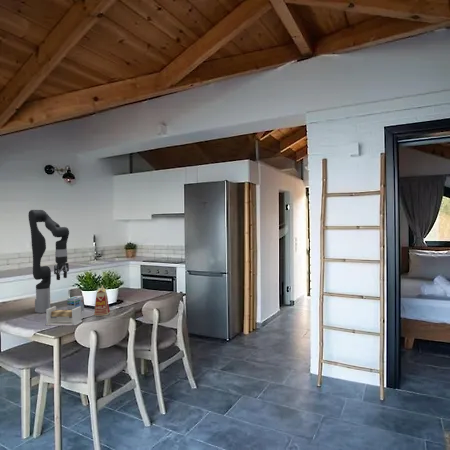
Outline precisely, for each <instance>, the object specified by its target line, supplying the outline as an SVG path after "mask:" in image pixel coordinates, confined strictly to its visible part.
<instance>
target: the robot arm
mask: <svg viewBox="0 0 450 450" xmlns="http://www.w3.org/2000/svg"><path fill="white" fill-rule="evenodd" d="M38 223H44V226H45V228H46V229H47V230H48V231H50V233H51V234H52V237H54V238H60V239H59V240H57V241H55V252H54V254H55V255H54V256H55V264H56V265H53V266H54V267H53V274H54V275H56V281H60V280H61V273H62V272H63V273H62V274H63V277H62V278H63V279H67V278H68V272H69V270H70V268H69V266H70V265H69V262H68V248H67V246H68V245H67V244H68V239H69V235H70V230H69V228H68V227H67V226H60V224H59V223H58V222H56V221H55V220H54V219H52V217H50V215H49V214H48V213H47V212H46V211H45V210H43V209H30V210H29V211H28V224H29V229H30V237H31V253H32V276H33V279H34V280H36V281H39V280H41V281H40V282H38V283H37V284H35V298H34V313H38V314H40V313H41V314H43V313H46V309H49V308H51V282H52V279H51V278H52V271H51V268H50V266H48V265H44V266H41V261H42V259H43V255H44V254H45V252H46V249H47V242H46V238H45V236H44V235H43V233H42V232H41V231H40V230H39V227H38Z"/></svg>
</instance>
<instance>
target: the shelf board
mask: <svg viewBox="0 0 450 450" xmlns="http://www.w3.org/2000/svg"><path fill="white" fill-rule="evenodd" d="M52 317H72V310H67V309H56V310H55V311H52Z"/></svg>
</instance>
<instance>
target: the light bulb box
mask: <svg viewBox="0 0 450 450" xmlns="http://www.w3.org/2000/svg"><path fill="white" fill-rule="evenodd" d="M66 301H67V302H66V305H67V306H66V307H67V308H66V310H72V309H75V308H77V307H79V306H81V312H83V311H84V305H85V304H84V301H85V299H84V295H74V296H71V297H68V298H66Z"/></svg>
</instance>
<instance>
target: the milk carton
mask: <svg viewBox="0 0 450 450" xmlns="http://www.w3.org/2000/svg"><path fill="white" fill-rule="evenodd" d="M110 313H111V310H110V305H109V298H108V293H107V289H106V288H105V287H104V285H101V287H100V288H98V290H97V291H96V295H95V303H94V314H93V315H94V316H98V317H99V316H101V317H102V316H108V315H109V314H110Z"/></svg>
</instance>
